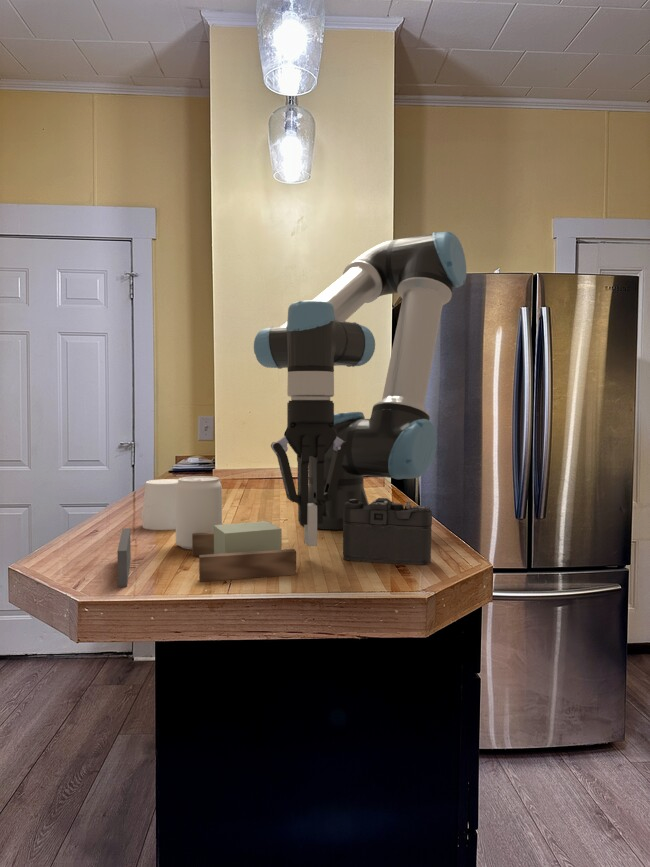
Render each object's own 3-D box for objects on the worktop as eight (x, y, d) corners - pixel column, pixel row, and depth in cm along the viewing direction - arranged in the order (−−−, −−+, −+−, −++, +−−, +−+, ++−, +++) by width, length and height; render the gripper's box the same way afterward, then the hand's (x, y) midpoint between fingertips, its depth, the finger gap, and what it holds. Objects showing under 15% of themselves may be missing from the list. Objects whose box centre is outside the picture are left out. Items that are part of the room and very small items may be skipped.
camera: (433, 551, 108) (433, 493, 107) (430, 567, 97) (431, 503, 96) (351, 547, 111) (351, 491, 110) (340, 562, 100) (340, 500, 99)
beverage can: (212, 551, 107) (211, 482, 106) (167, 549, 108) (167, 480, 108) (228, 541, 114) (228, 476, 114) (187, 539, 116) (186, 475, 115)
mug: (135, 483, 125) (149, 478, 133) (136, 530, 125) (149, 522, 133) (195, 484, 124) (205, 479, 132) (195, 530, 124) (205, 523, 132)
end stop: (130, 558, 102) (130, 528, 101) (127, 586, 86) (126, 550, 86) (122, 559, 101) (122, 528, 101) (118, 586, 86) (117, 551, 86)
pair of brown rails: (274, 548, 109) (274, 528, 108) (296, 574, 92) (296, 551, 92) (192, 554, 105) (192, 533, 105) (200, 581, 89) (199, 557, 88)
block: (267, 556, 104) (267, 521, 104) (281, 566, 97) (281, 528, 97) (214, 562, 100) (213, 525, 100) (225, 573, 94) (224, 533, 94)
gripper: (342, 399, 106) (341, 537, 107) (266, 399, 102) (266, 541, 103) (356, 398, 99) (356, 546, 100) (275, 398, 95) (275, 552, 96)
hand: (310, 544), depth 101 cm, fingers closed
